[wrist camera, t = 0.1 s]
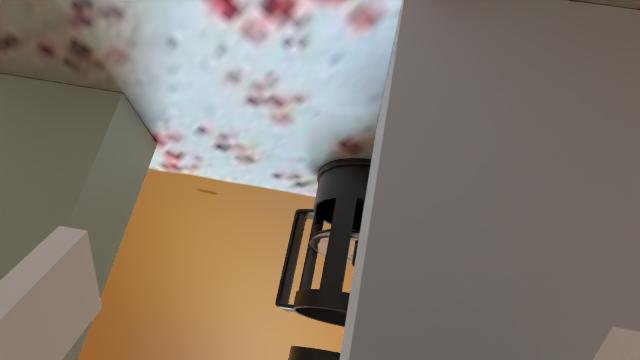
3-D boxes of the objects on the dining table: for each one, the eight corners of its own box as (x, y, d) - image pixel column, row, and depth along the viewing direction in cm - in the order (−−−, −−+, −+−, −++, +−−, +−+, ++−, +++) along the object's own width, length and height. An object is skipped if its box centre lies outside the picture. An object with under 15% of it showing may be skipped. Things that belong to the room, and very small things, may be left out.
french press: (418, 156, 36) (376, 515, 27) (441, 205, 43) (414, 496, 34) (283, 160, 41) (209, 462, 32) (325, 202, 48) (275, 456, 39)
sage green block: (-50, 65, 36) (-208, 323, 29) (122, 93, 35) (6, 369, 28) (12, 119, 44) (-100, 336, 36) (157, 143, 43) (72, 372, 35)
